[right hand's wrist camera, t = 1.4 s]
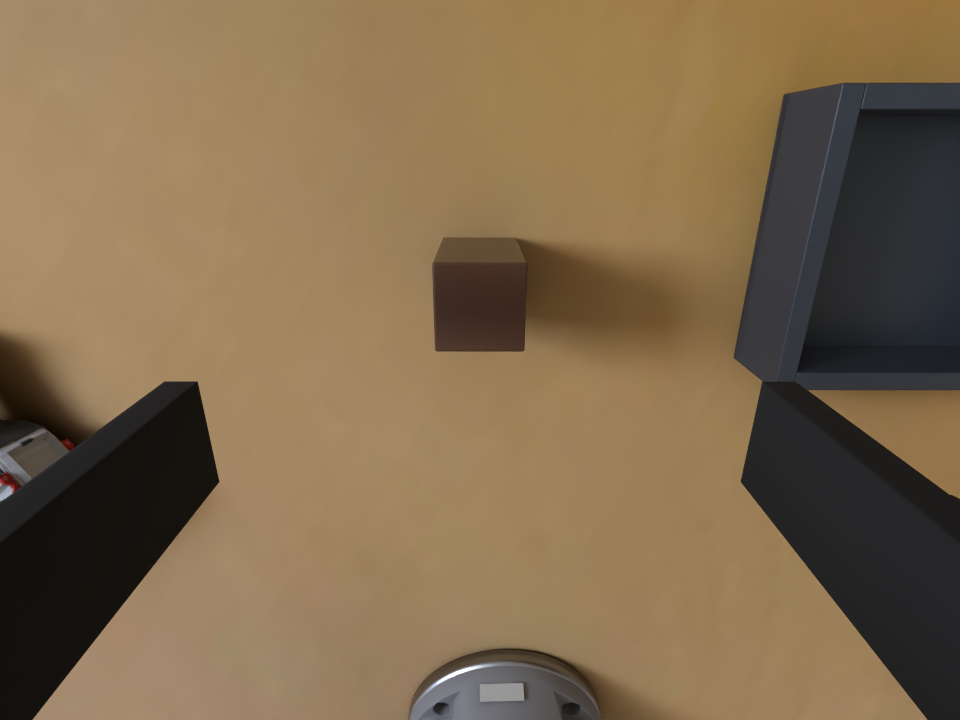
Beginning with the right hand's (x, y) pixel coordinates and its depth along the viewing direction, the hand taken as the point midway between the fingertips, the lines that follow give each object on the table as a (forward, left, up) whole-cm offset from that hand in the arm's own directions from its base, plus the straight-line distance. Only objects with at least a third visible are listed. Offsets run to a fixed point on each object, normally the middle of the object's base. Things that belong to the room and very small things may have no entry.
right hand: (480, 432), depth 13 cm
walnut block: (0, 0, -18) cm, 18 cm away
